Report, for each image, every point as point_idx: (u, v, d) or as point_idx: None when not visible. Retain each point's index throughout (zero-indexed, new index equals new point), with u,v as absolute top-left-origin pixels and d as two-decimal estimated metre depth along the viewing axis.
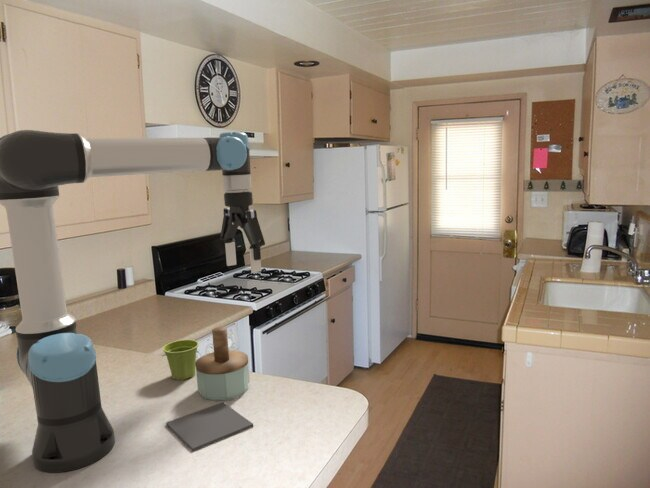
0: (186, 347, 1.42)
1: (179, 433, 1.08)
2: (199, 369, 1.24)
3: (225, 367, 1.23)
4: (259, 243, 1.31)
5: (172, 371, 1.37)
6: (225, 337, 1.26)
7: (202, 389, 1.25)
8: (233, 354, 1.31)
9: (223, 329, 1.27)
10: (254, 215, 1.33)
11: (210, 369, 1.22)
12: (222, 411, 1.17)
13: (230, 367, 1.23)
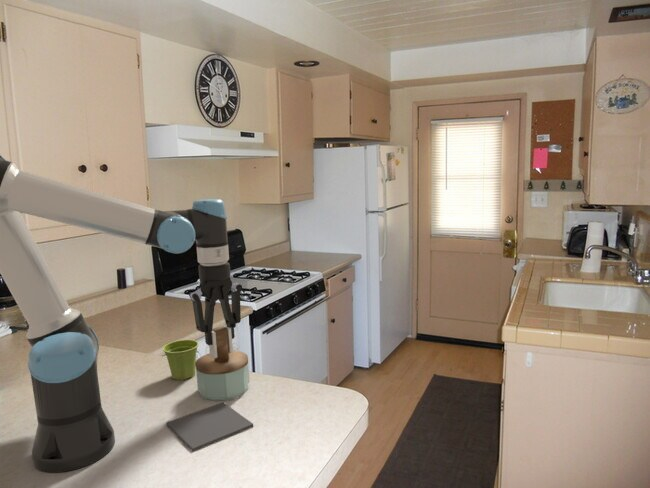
0: (186, 347, 1.42)
1: (179, 433, 1.08)
2: (199, 369, 1.24)
3: (225, 367, 1.23)
4: (198, 329, 1.24)
5: (172, 371, 1.37)
6: (225, 337, 1.26)
7: (202, 389, 1.25)
8: (233, 354, 1.31)
9: (223, 329, 1.27)
10: (194, 300, 1.21)
11: (210, 369, 1.22)
12: (222, 411, 1.17)
13: (230, 367, 1.23)
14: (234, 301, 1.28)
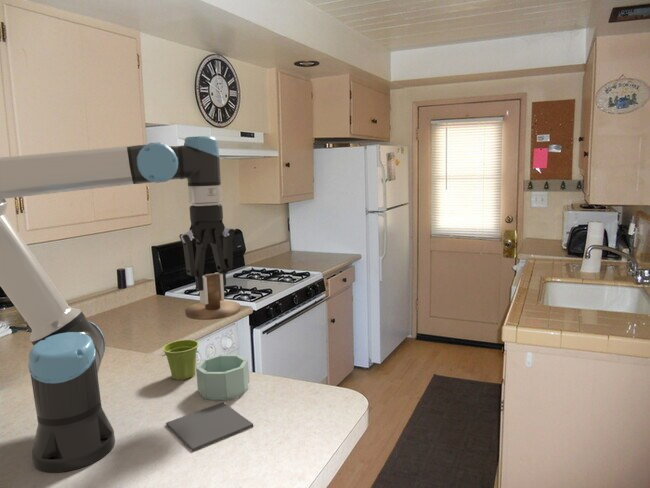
0: (186, 347, 1.42)
1: (179, 433, 1.08)
2: (189, 315, 1.18)
3: (217, 313, 1.18)
4: (188, 273, 1.18)
5: (172, 371, 1.37)
6: (216, 282, 1.21)
7: (202, 389, 1.25)
8: (225, 303, 1.26)
9: (214, 275, 1.21)
10: (184, 241, 1.16)
11: (201, 314, 1.17)
12: (222, 411, 1.17)
13: (222, 313, 1.18)
14: (226, 246, 1.23)
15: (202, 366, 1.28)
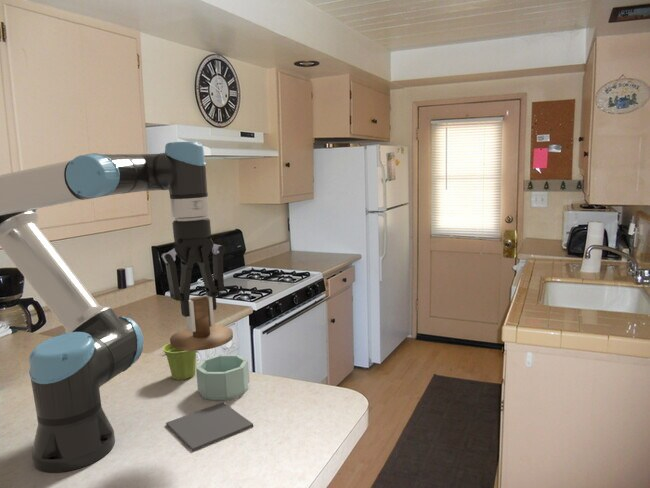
0: None
1: (179, 433, 1.08)
2: (174, 345, 1.04)
3: (205, 342, 1.04)
4: (172, 297, 1.04)
5: (172, 371, 1.37)
6: (205, 307, 1.06)
7: (202, 389, 1.25)
8: (216, 329, 1.12)
9: (203, 298, 1.07)
10: (167, 262, 1.02)
11: (186, 345, 1.03)
12: (222, 411, 1.17)
13: (210, 342, 1.03)
14: (216, 265, 1.09)
15: (202, 366, 1.28)
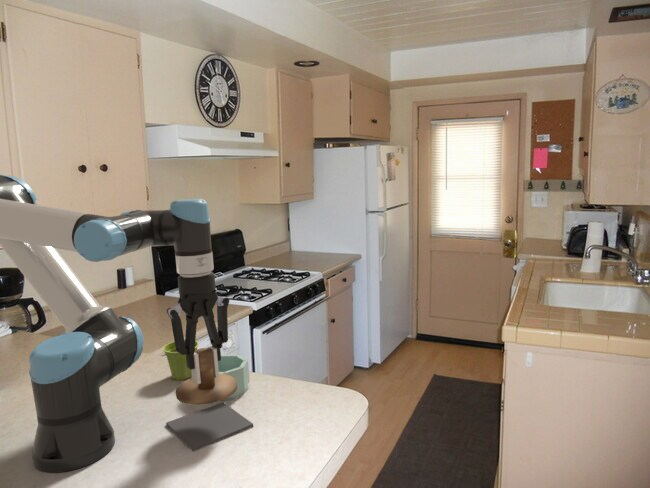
0: None
1: (179, 433, 1.08)
2: (179, 398, 1.06)
3: (210, 395, 1.05)
4: (177, 351, 1.06)
5: (172, 371, 1.37)
6: (210, 360, 1.08)
7: None
8: (220, 378, 1.14)
9: (207, 350, 1.09)
10: (172, 317, 1.03)
11: (192, 398, 1.05)
12: (222, 411, 1.17)
13: (215, 396, 1.05)
14: (220, 317, 1.10)
15: None
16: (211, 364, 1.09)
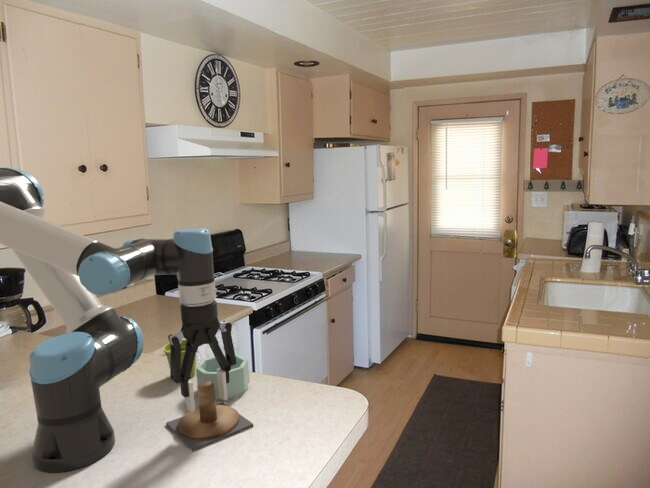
0: None
1: (179, 433, 1.08)
2: (182, 432, 1.07)
3: (212, 430, 1.07)
4: (171, 379, 1.06)
5: None
6: (212, 394, 1.10)
7: None
8: (222, 411, 1.15)
9: (210, 384, 1.10)
10: (173, 344, 1.04)
11: (194, 433, 1.06)
12: None
13: (218, 430, 1.07)
14: (225, 342, 1.12)
15: (202, 366, 1.28)
16: (213, 398, 1.10)
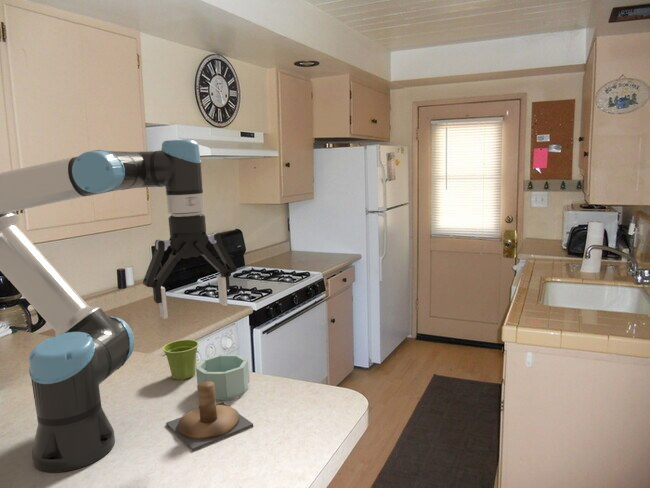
0: (186, 347, 1.42)
1: (179, 433, 1.08)
2: (182, 432, 1.07)
3: (212, 430, 1.07)
4: (144, 282, 1.05)
5: (172, 371, 1.37)
6: (212, 394, 1.10)
7: None
8: (222, 411, 1.15)
9: (210, 384, 1.10)
10: (158, 247, 1.05)
11: (194, 433, 1.06)
12: None
13: (218, 430, 1.07)
14: (220, 252, 1.13)
15: (202, 366, 1.28)
16: (213, 398, 1.10)
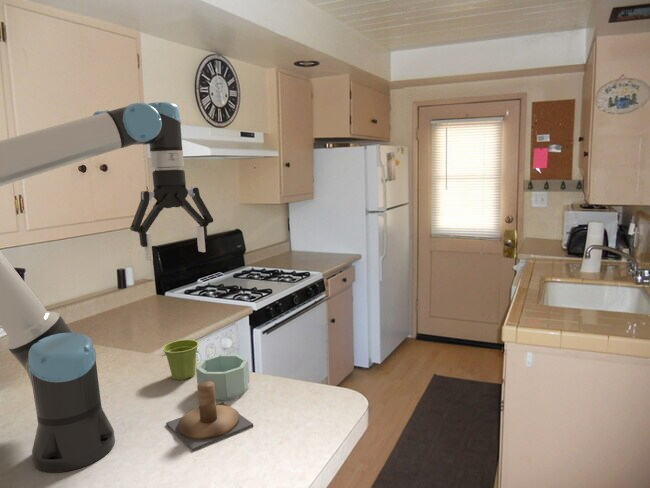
0: (186, 347, 1.42)
1: (179, 433, 1.08)
2: (182, 432, 1.07)
3: (212, 430, 1.07)
4: (131, 228, 1.19)
5: (172, 371, 1.37)
6: (212, 394, 1.10)
7: None
8: (222, 411, 1.15)
9: (210, 384, 1.10)
10: (143, 197, 1.19)
11: (194, 433, 1.06)
12: None
13: (218, 430, 1.07)
14: (198, 205, 1.28)
15: (202, 366, 1.28)
16: (213, 398, 1.10)
